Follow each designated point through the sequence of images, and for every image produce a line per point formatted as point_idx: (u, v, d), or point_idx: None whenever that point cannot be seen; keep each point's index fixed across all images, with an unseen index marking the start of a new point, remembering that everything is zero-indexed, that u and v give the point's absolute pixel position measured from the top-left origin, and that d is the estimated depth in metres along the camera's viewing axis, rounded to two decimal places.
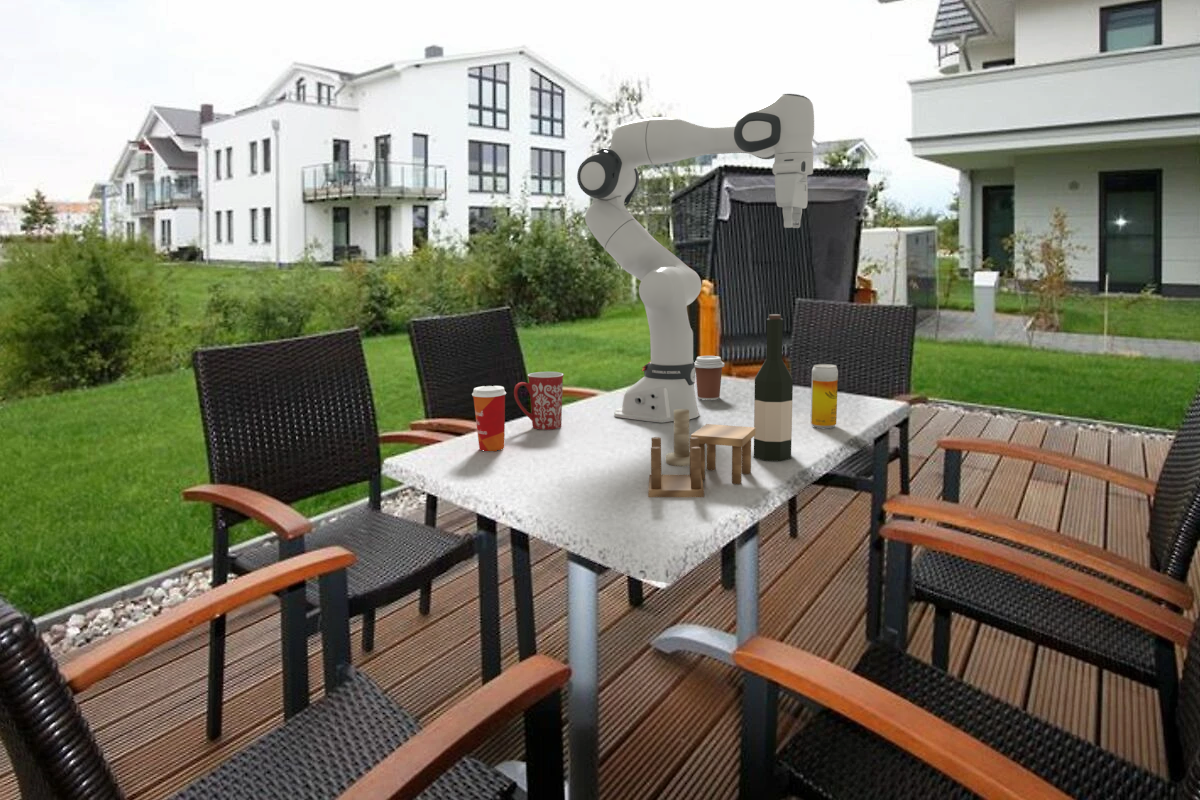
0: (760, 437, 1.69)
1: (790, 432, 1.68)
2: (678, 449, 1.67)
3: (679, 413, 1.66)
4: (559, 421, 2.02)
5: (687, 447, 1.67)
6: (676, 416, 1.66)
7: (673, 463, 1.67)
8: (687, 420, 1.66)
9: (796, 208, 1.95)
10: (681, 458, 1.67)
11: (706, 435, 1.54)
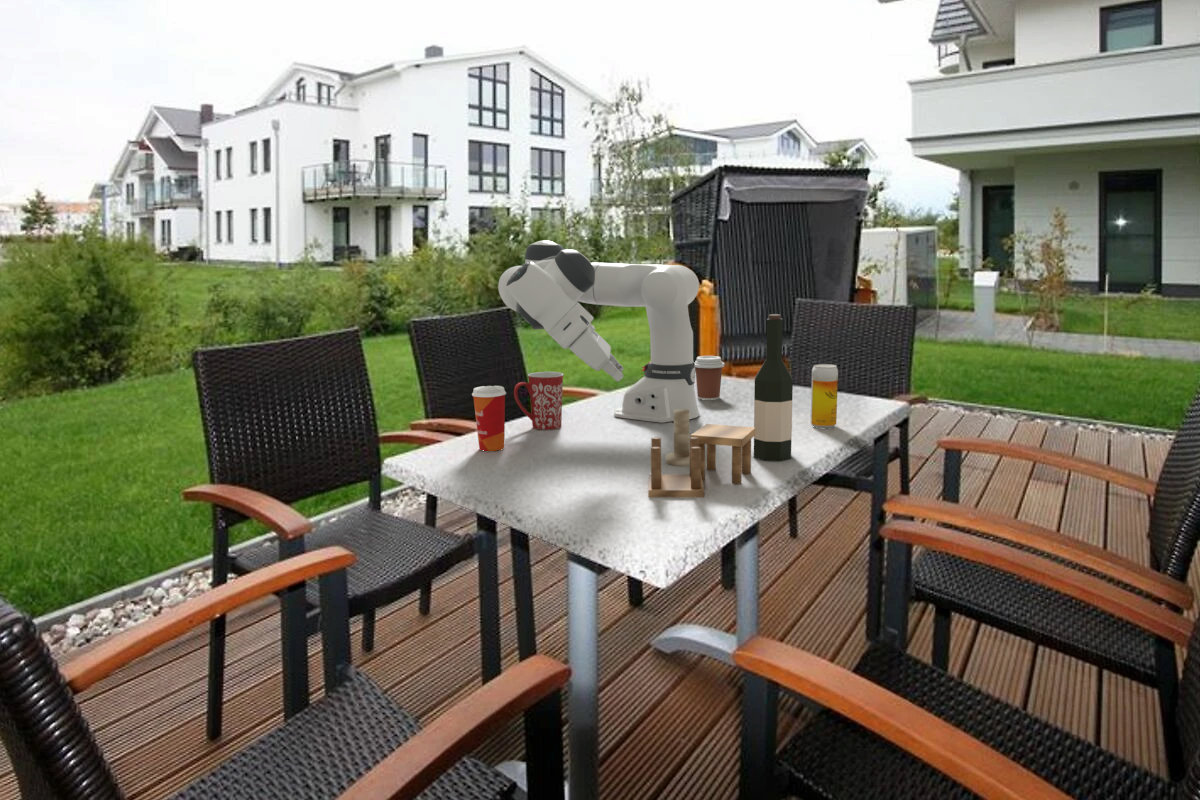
0: (760, 437, 1.69)
1: (790, 432, 1.68)
2: (678, 449, 1.67)
3: (679, 413, 1.66)
4: (559, 421, 2.02)
5: (687, 447, 1.67)
6: (676, 416, 1.66)
7: (673, 463, 1.67)
8: (687, 420, 1.66)
9: None
10: (681, 458, 1.67)
11: (706, 435, 1.54)
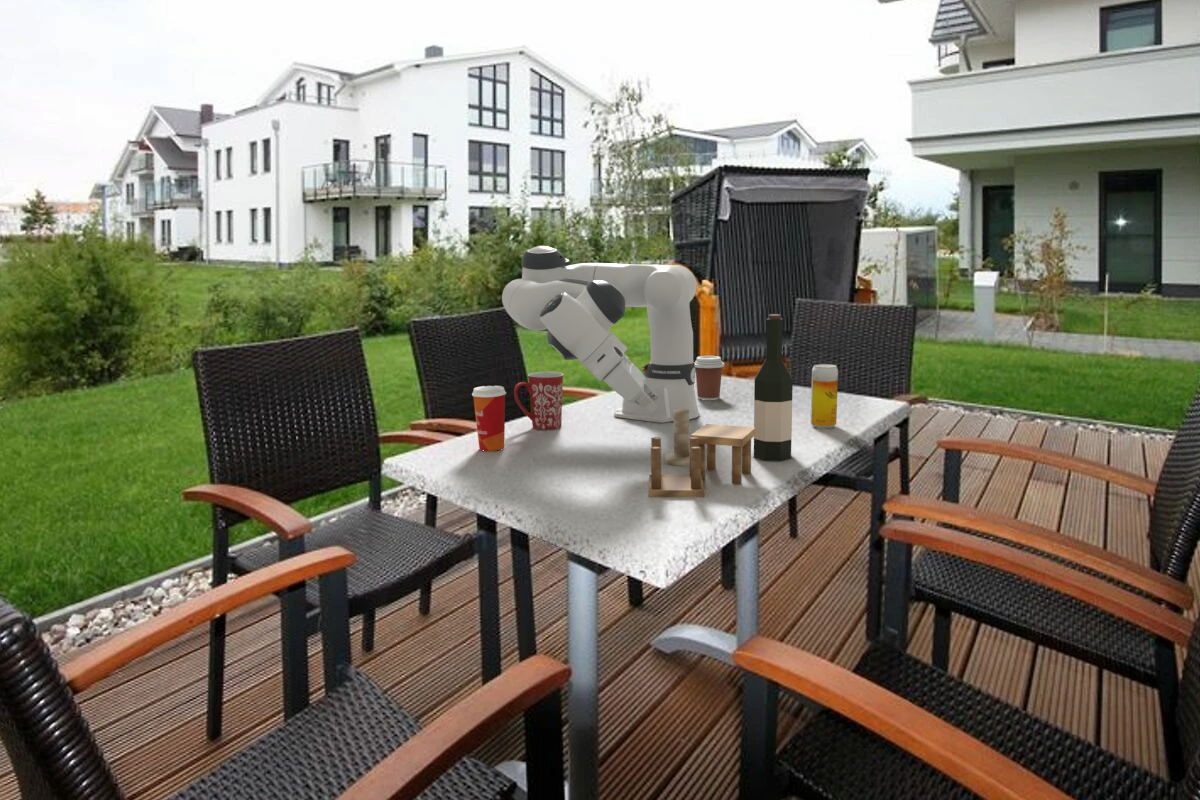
0: (760, 437, 1.69)
1: (790, 432, 1.68)
2: (678, 449, 1.67)
3: (679, 413, 1.66)
4: (559, 421, 2.02)
5: (687, 447, 1.67)
6: (676, 416, 1.66)
7: (673, 463, 1.67)
8: (687, 420, 1.66)
9: None
10: (681, 458, 1.67)
11: (706, 435, 1.54)
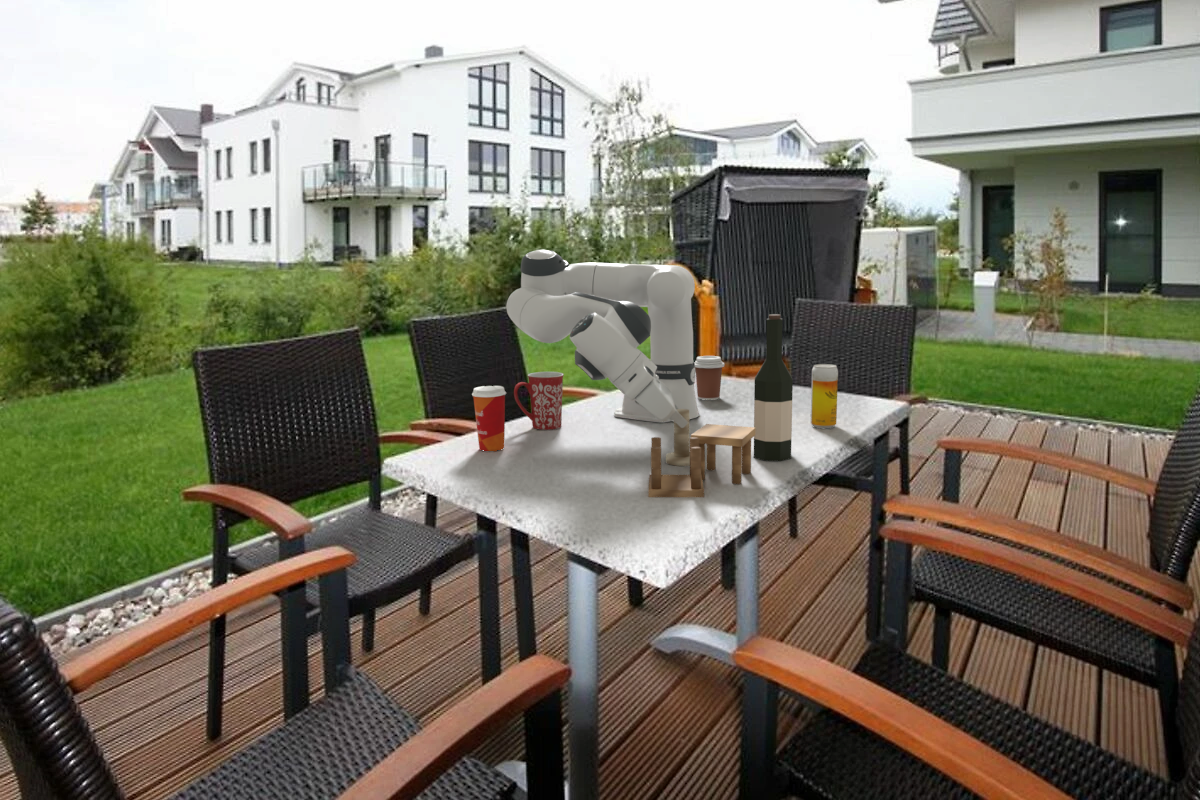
0: (760, 437, 1.69)
1: (790, 432, 1.68)
2: (678, 448, 1.67)
3: None
4: (559, 421, 2.02)
5: (687, 447, 1.67)
6: None
7: (673, 463, 1.67)
8: (687, 420, 1.66)
9: None
10: (681, 458, 1.67)
11: (706, 435, 1.54)
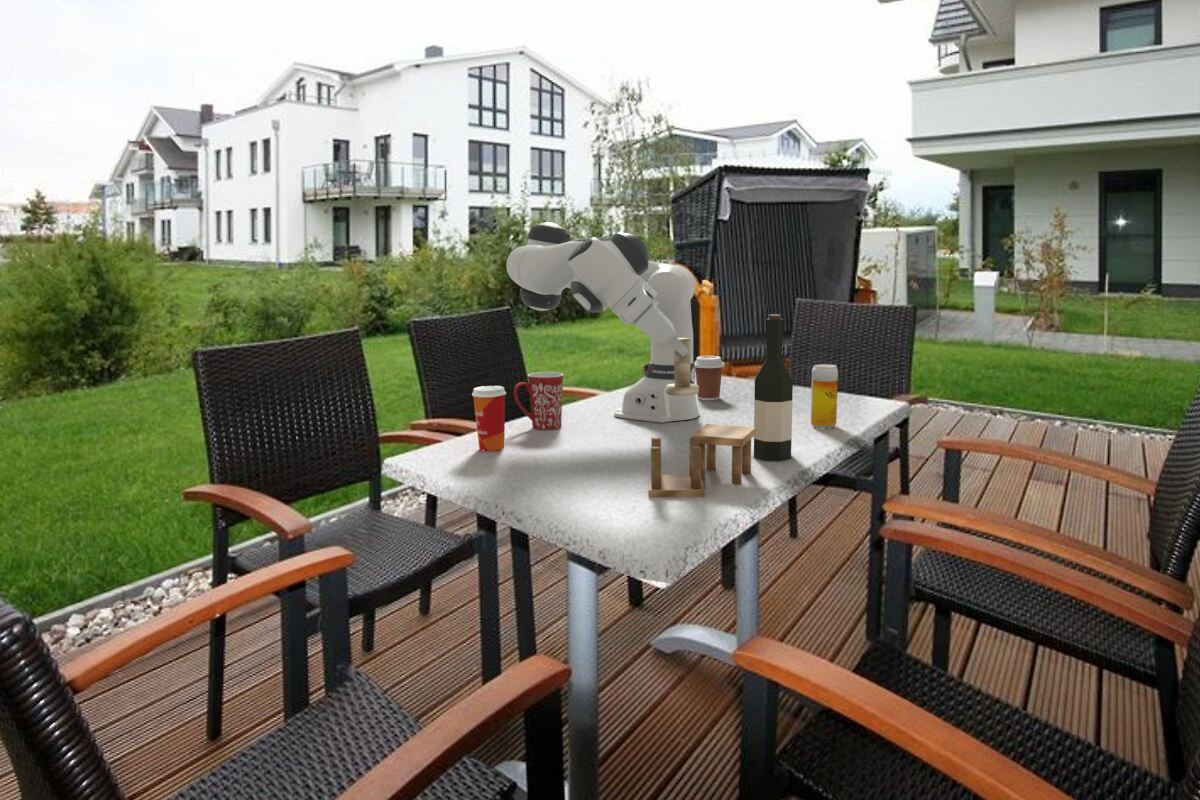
0: (760, 437, 1.69)
1: (790, 432, 1.68)
2: (678, 378, 1.63)
3: None
4: (559, 421, 2.02)
5: (688, 377, 1.63)
6: None
7: (673, 393, 1.62)
8: (688, 348, 1.62)
9: None
10: (682, 387, 1.62)
11: (706, 435, 1.54)
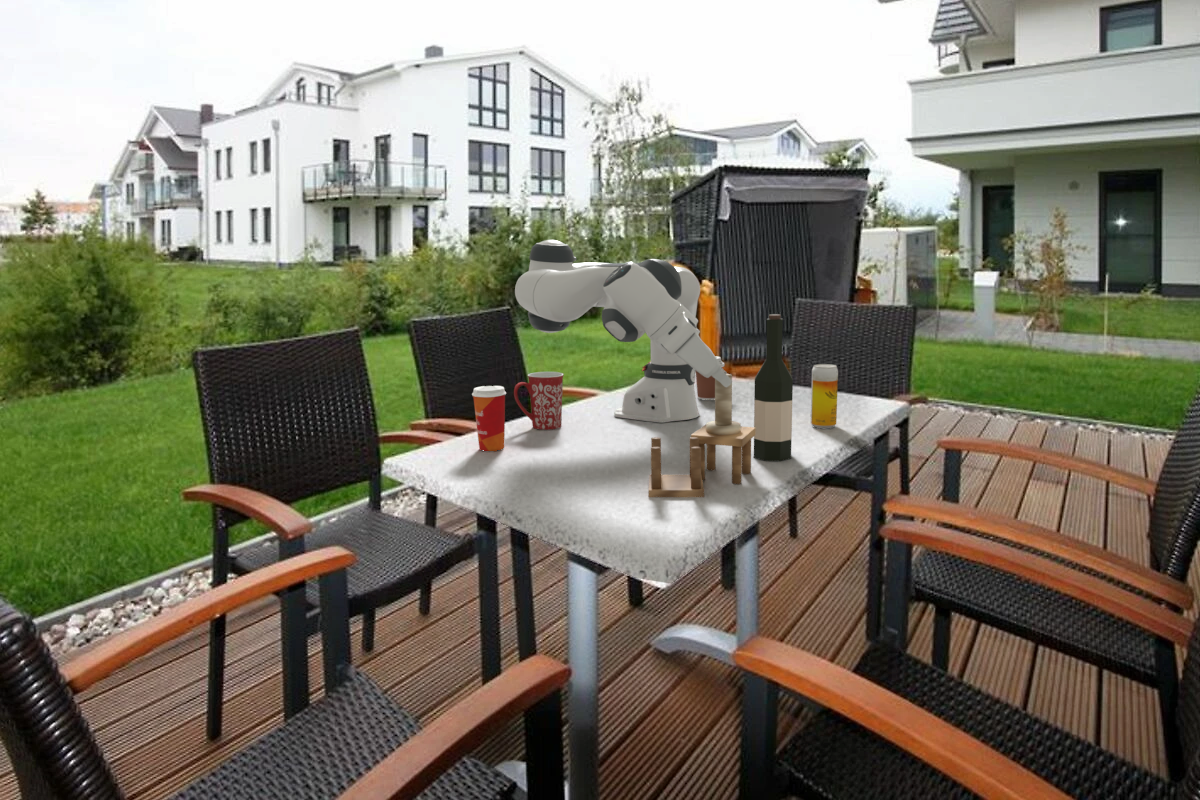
0: (760, 437, 1.69)
1: (790, 432, 1.68)
2: (719, 416, 1.55)
3: None
4: (559, 421, 2.02)
5: (730, 415, 1.55)
6: (718, 381, 1.54)
7: (715, 432, 1.54)
8: (730, 385, 1.54)
9: None
10: (724, 426, 1.54)
11: (706, 435, 1.54)
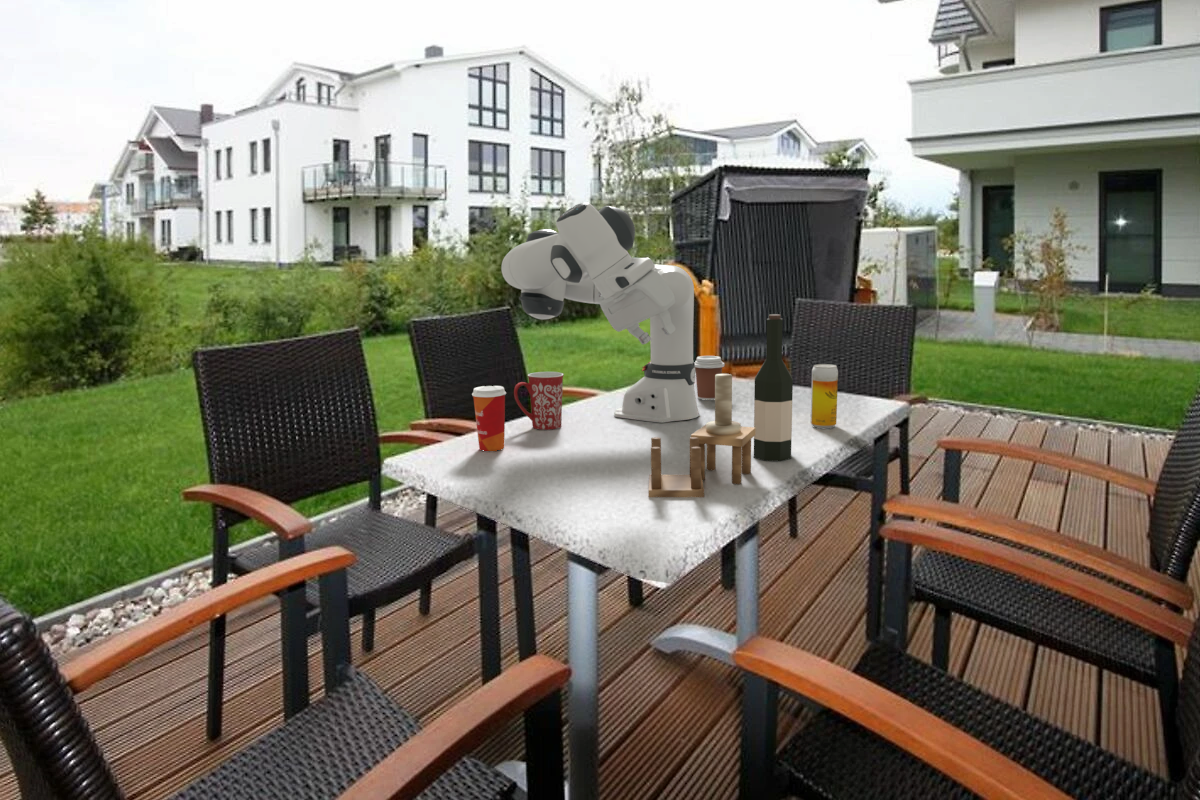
0: (760, 437, 1.69)
1: (790, 432, 1.68)
2: (719, 416, 1.55)
3: (721, 378, 1.53)
4: (559, 421, 2.02)
5: (730, 415, 1.55)
6: (718, 381, 1.54)
7: (715, 432, 1.54)
8: (730, 385, 1.54)
9: None
10: (724, 426, 1.54)
11: (706, 435, 1.54)
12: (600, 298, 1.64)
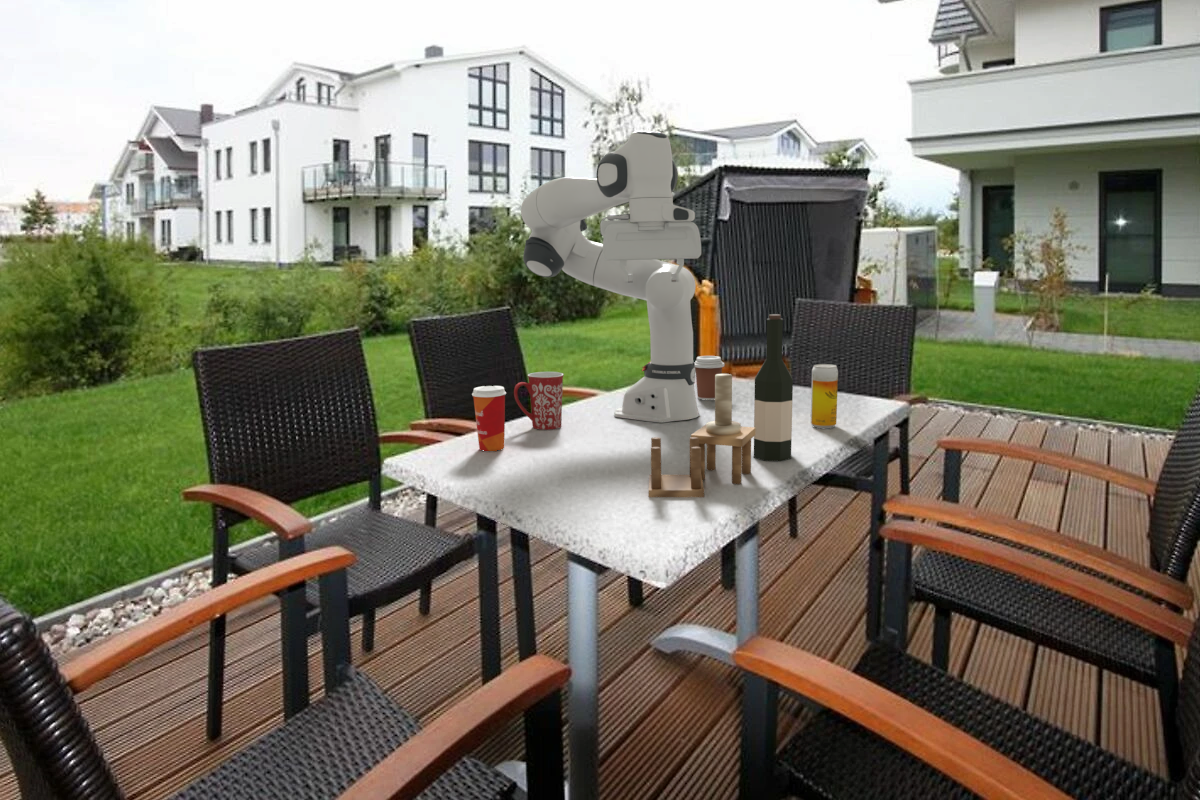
0: (760, 437, 1.69)
1: (790, 432, 1.68)
2: (719, 416, 1.55)
3: (721, 378, 1.53)
4: (559, 421, 2.02)
5: (730, 415, 1.55)
6: (718, 381, 1.54)
7: (715, 432, 1.54)
8: (730, 385, 1.54)
9: None
10: (724, 426, 1.54)
11: (706, 435, 1.54)
12: (604, 222, 1.64)
